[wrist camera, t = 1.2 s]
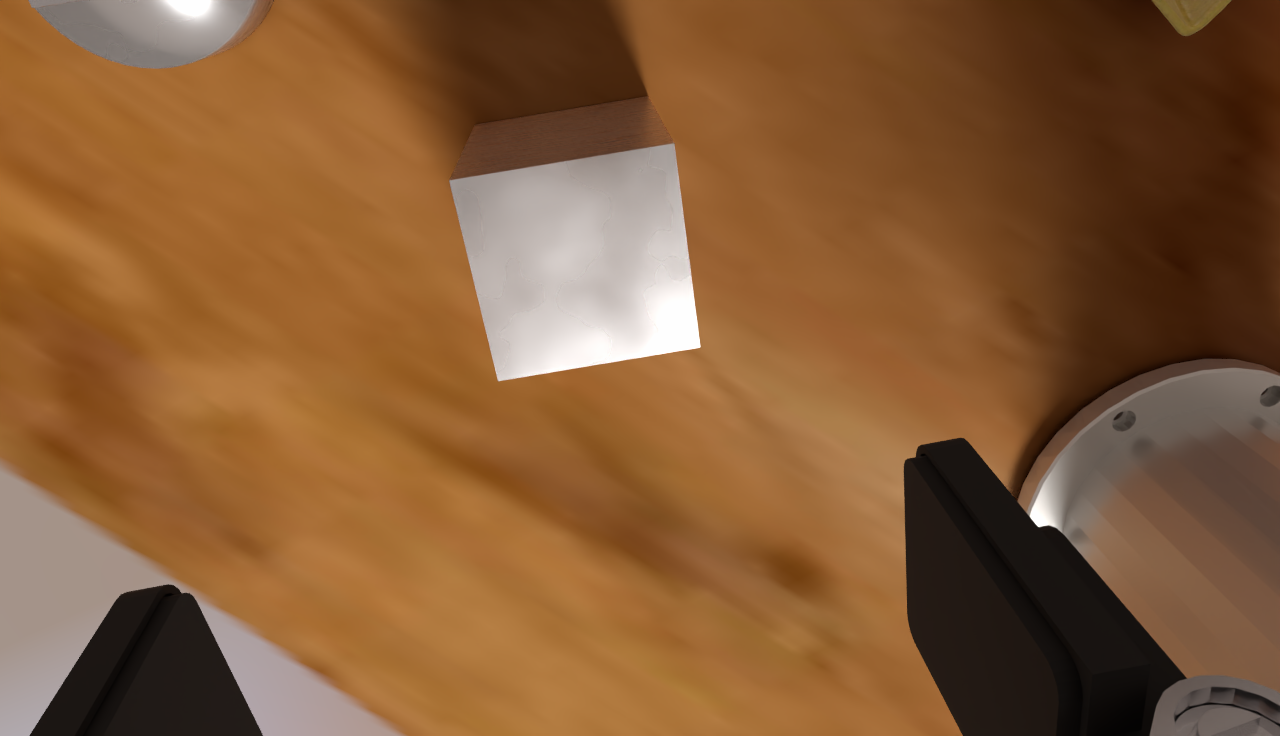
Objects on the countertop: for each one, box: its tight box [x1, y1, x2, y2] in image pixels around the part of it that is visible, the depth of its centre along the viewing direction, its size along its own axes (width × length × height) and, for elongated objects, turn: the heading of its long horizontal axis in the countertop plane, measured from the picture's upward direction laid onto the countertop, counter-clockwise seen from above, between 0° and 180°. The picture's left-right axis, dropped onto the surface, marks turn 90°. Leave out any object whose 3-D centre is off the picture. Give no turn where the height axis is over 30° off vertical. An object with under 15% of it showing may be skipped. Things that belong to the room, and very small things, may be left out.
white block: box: [449, 96, 700, 381], centre depth 25 cm, size 5×5×7 cm
